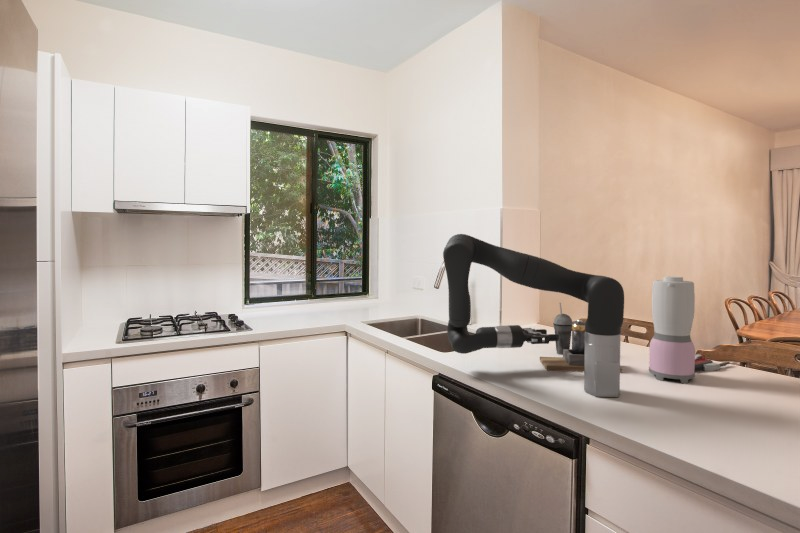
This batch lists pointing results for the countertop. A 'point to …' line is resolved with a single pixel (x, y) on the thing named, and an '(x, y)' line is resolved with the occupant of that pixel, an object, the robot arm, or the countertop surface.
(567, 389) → the countertop surface
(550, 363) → the wood and grey block
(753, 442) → the countertop surface
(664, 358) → the blender
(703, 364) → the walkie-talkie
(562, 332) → the beverage cup
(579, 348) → the cell
